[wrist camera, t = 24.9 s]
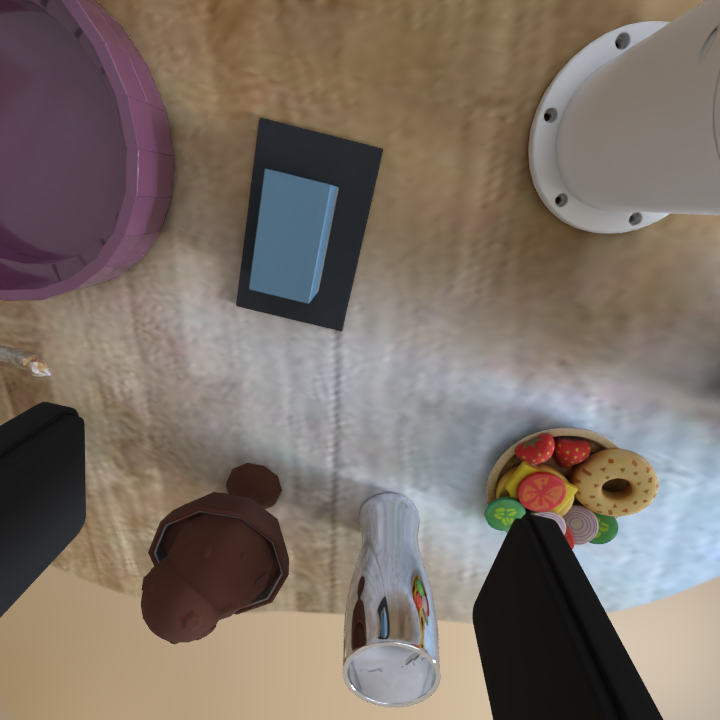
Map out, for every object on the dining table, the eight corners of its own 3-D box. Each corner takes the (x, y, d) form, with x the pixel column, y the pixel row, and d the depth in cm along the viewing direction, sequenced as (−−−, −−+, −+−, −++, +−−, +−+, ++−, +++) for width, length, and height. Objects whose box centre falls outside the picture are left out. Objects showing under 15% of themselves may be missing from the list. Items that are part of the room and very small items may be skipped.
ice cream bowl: (263, 546, 44) (205, 707, 30) (178, 482, 42) (73, 624, 28) (330, 490, 41) (302, 640, 27) (243, 418, 38) (162, 541, 24)
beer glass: (438, 511, 41) (465, 671, 27) (397, 554, 43) (402, 722, 29) (380, 476, 40) (378, 625, 26) (341, 522, 42) (319, 681, 28)
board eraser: (281, 172, 30) (264, 168, 26) (339, 187, 31) (331, 184, 26) (265, 278, 33) (248, 289, 29) (318, 291, 33) (309, 304, 29)
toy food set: (659, 458, 37) (683, 480, 34) (572, 556, 42) (587, 583, 39) (532, 398, 36) (546, 416, 33) (456, 507, 41) (462, 531, 38)
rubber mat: (261, 118, 30) (259, 117, 29) (383, 149, 30) (382, 149, 29) (237, 304, 35) (236, 305, 34) (342, 330, 35) (341, 331, 34)
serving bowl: (-40, -134, 26) (-146, -218, 20) (235, 133, 30) (204, 119, 25) (-150, 151, 32) (-252, 141, 27) (90, 336, 36) (42, 358, 31)
